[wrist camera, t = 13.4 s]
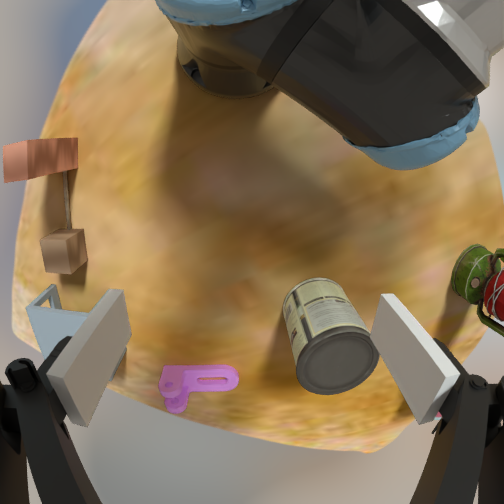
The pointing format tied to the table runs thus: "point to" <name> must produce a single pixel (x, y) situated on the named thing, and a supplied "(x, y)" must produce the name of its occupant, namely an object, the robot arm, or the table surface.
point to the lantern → (481, 282)
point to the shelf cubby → (55, 321)
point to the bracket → (193, 382)
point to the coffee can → (327, 338)
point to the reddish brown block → (57, 160)
